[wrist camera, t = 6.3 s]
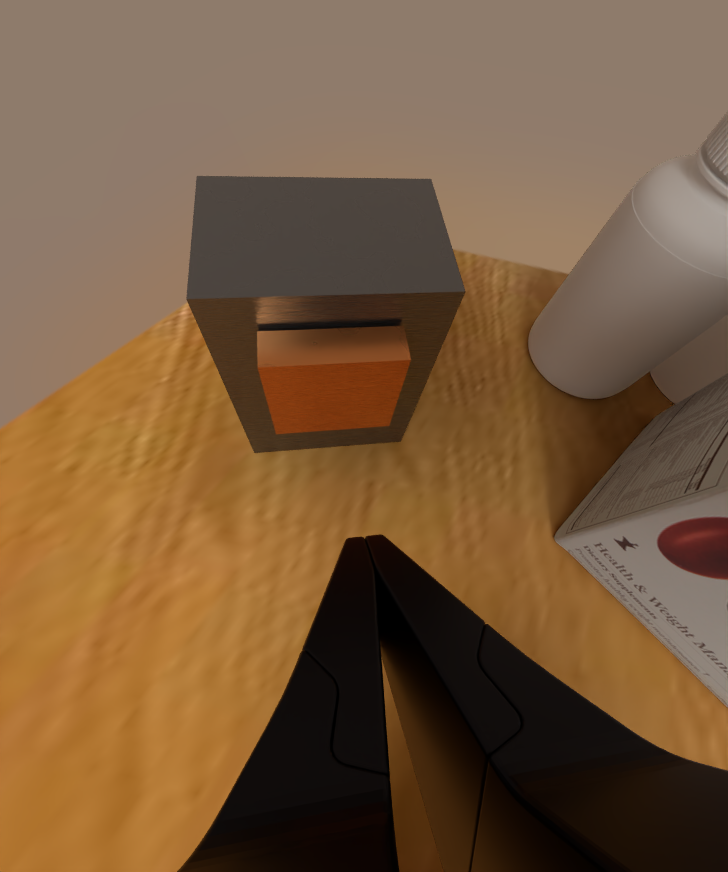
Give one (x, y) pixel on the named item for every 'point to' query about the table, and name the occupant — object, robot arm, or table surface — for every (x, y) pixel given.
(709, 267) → the pill bottle
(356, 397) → the pin
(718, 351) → the cylindrical container
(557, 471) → the table surface
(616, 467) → the supplement box
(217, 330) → the block
